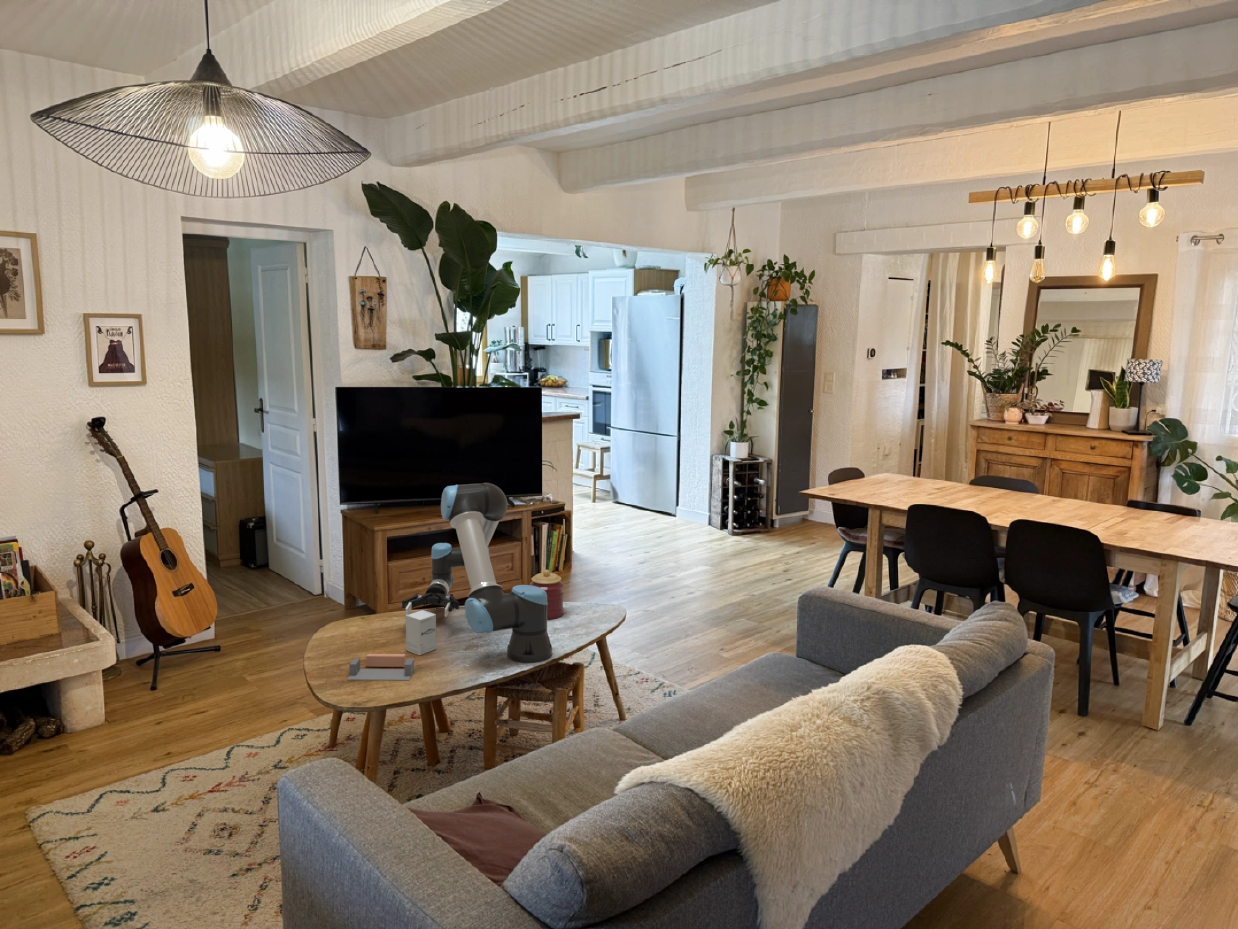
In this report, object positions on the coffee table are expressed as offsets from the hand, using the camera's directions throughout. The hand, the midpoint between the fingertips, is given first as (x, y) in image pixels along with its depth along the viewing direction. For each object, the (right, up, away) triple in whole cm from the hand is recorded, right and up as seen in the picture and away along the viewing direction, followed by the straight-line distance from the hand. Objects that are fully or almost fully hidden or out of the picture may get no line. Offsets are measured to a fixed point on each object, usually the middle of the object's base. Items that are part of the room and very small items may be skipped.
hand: (426, 612), depth 293 cm
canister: (+39, -6, +29) cm, 49 cm away
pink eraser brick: (-8, -13, -22) cm, 27 cm away
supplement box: (0, -11, -8) cm, 14 cm away
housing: (-8, -15, -29) cm, 33 cm away
